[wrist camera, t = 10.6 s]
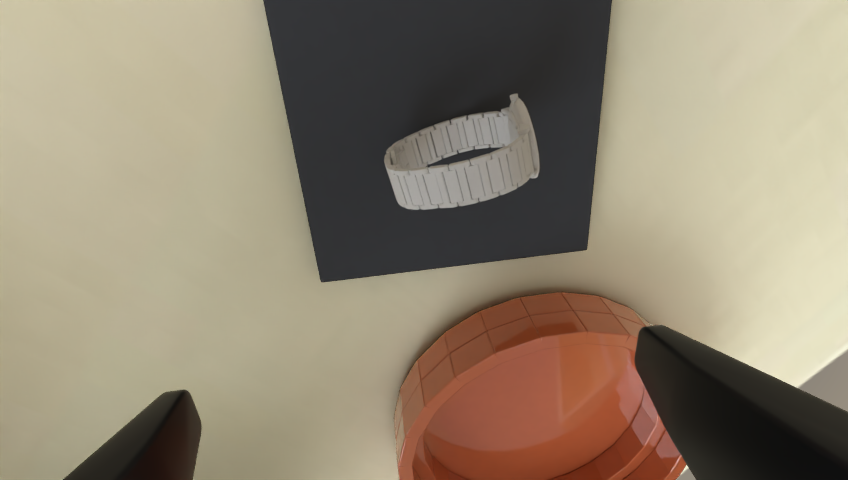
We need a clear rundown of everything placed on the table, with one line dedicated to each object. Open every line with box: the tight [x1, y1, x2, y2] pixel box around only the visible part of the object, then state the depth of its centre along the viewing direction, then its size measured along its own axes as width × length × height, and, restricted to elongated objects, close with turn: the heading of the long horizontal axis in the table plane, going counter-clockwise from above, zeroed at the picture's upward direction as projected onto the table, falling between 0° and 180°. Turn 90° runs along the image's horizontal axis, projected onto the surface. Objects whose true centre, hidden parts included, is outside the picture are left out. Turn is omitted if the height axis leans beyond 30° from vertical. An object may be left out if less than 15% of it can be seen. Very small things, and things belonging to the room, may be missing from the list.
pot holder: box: [263, 0, 612, 282], centre depth 19 cm, size 12×12×1 cm
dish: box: [394, 292, 686, 480], centre depth 25 cm, size 15×15×4 cm
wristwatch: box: [384, 94, 541, 210], centre depth 16 cm, size 3×5×5 cm, turn 105°
